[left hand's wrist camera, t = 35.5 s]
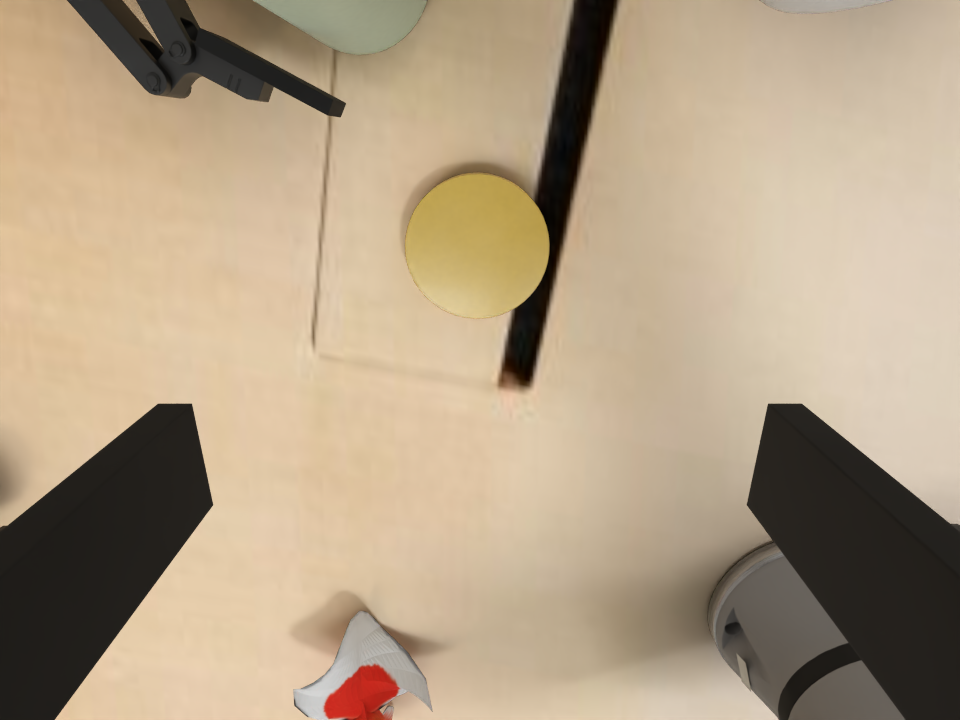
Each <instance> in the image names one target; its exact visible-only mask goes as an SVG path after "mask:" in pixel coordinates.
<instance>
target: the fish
mask: <svg viewBox="0 0 960 720" xmlns="http://www.w3.org/2000/svg"><path fill="white" fill-rule="evenodd" d="M293 691H294V706H295V707H297V708H298V709H299V710H300V711H301V712H302V713H304V714H305V715H306V716H307V717H310V718H314V719H318V720H392V716H393V711H394V708H393V706H388V707H387V708H386V710H385V711H384V712H383V714H382V713H381V712H380V709H381V708H382V707H383V706H385V705H386V704H387V703H389V702H390V701H391V700H392V699H394V698H395V697H396V696H399V695H402V694H404V693H406V692H408V691H409V692H411V693H412V694H414V695H415V696H417V697H418V698H419V699H420V700H422V701H423V702H424V703H425V704H426V705H427V706H428V707H429V708H430V709H431V711H432V706H431V701H430V697H429V692H428V687H427V682H426V678H425V677H424V675H423V674H422V672H421V671H420V670H419V668H418V667H417V665H416V664H415V662H414V661H413V659H412V658H411V656H410V655H409V653H408V652H407V651H406V650H405V649H404V648H403V647H402V646H401V645H400V644H399V643H398V642H397V641H396V640H395V639H394V638H393V637H392V636H391V635H389V634H388V633H387V632H386V631H385V630H384V629H383V628H382V627H381V626H380V625H379V624H378V622H377V621H376V620H375V619H374V618H373V617H372V616H371V615H370V614H369V613H367V612H364V611H359V612H358V613H357V614H356V615H355V616H354V617H353V618H352V619H351V620H350V623H349V625H348V627H347V629H346V632H345V635H344V638H343V640H342V643H341V645H340V648H339V650H338V653H337V656H336V658H335V661H334V664H333V665H332V666H331V668H330V669H329V670H328V671H327V672H326V674H325V675H323V676H322V677H321V678H319V679H318V680H316V681H315V682H314V683H312V684H310V685H308V686H306V687H303V688H301V689H293ZM432 712H433V711H432Z"/></svg>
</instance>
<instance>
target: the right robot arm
mask: <svg viewBox="0 0 960 720" xmlns="http://www.w3.org/2000/svg"><path fill="white" fill-rule="evenodd" d="M67 1H68V2H69V3H70V4H71V5H72V6H73V7H74V9H75V10H76V11H77V12H78V13H79V14H80V15H81V17H82V18H83V19H84V20H85V21H86V22H87V23H88V25H89V26H90V27H91V28H92V29H93V30H94V31H95V33H96V34H97V35H98V36H99V37H100V38H101V39H102V41H103V42H104V43H105V44H106V45H107V46H108V47H109V49H110V50H111V51H112V52H113V53H114V54H115V55H116V57H117V58H118V59H119V60H120V61H121V62H122V63H123V65H124V66H125V67H126V68H127V69H128V70H129V71H130V73H131V74H132V75H133V76H134V77H135V78H136V79H137V81H138V82H139V83H140V84H141V85H142V86H143V87H144V89H145V90H147V91H148V92H149V93H151V94H154V95H159V96H166V97H174V98H186V97H187V96H189V94H190V93H191V85H192V84H193V83H194V82H195V80H196V79H198V78H199V77H201V76H204V77H206V78H208V79H209V80H211V81H213V82H215V83H217V84H219V85H221V86H223V87H225V88H227V89H229V90H230V91H232V92H234V93H236V94H238V95H240V96H242V97H244V98H246V99H249V100H255V101H263V102H269V99H270V96H271V93H272V90H273V87H275V88H277V89H279V90H281V91H283V92H285V93H287V94H289V95H290V96H292V97H294V98H296V99H298V100H300V101H302V102H304V103H305V104H307V105H309V106H311V107H313V108H315V109H317V110H319V111H320V112H322V113H324V114H326V115H329V116H335V117H341V115H342V113H343V110H344V107H345V105H346V103H345V102H343V101H341V100H339V99H337V98H335V97H333V96H332V95H330V94H328V93H326V92H324V91H322V90H320V89H319V88H317V87H315V86H313V85H311V84H309V83H307V82H306V81H304V80H302V79H300V78H298V77H296V76H294V75H293V74H291V73H289V72H287V71H285V70H283V69H281V68H280V67H278V66H276V65H274V64H272V63H270V62H268V61H267V60H265V59H263V58H261V57H259V56H257V55H255V54H254V53H252V52H250V51H248V50H246V49H244V48H243V47H241V46H239V45H237V44H235V43H233V42H231V41H230V40H228V39H226V38H224V37H221V36H219V35H216V34H214V33H211V32H209V31H206V30H204V29H201V28H200V27H199V25H198V23H197V21H196V20H195V18H194V16H193V14H192V12H191V10H190V8H189V6H188V5H187V3H186V1H185V0H137V2H138V4H139V6H140V8H141V9H142V11H143V13H144V15H145V17H146V18H147V20H148V22H149V24H150V25H151V27H152V29H153V31H154V33H155V34H156V36H157V38H158V40H159V42H160V43H161V45H162V47H163V48H162V47H161V46H160V44H159V43H158V42H157V41H156V40H155V39H154V37H153V36H152V35H151V34H150V33H149V31H148V30H147V29H146V28H145V27H144V25H143V24H142V23H141V22H140V21H139V20H138V18H137V17H136V16H135V15H134V14H133V12H132V11H131V10H130V9H129V8H128V7H127V5H126V4H125V3H124V2H123V1H122V0H67Z"/></svg>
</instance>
